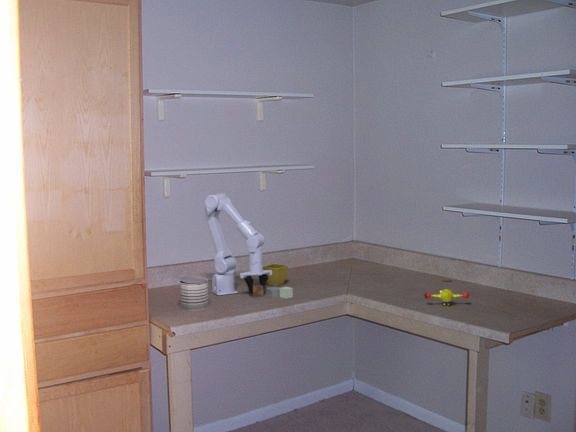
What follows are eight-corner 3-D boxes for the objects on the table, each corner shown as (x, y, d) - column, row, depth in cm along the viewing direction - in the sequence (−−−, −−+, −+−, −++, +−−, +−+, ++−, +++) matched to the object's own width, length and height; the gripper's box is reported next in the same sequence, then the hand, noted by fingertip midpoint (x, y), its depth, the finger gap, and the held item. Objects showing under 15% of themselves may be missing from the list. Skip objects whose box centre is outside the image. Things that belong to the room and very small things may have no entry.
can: (194, 302, 263) (193, 274, 262) (214, 306, 257) (213, 277, 256) (174, 308, 254) (173, 279, 253) (195, 312, 248) (194, 282, 246)
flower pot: (277, 287, 289) (276, 268, 288) (262, 285, 294) (262, 266, 293) (288, 284, 296) (288, 265, 295) (274, 282, 301) (273, 263, 300)
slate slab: (272, 297, 272) (272, 290, 271) (265, 294, 277) (265, 288, 277) (284, 295, 275) (284, 289, 275) (277, 293, 280) (277, 286, 280)
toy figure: (466, 303, 258) (467, 287, 257) (470, 307, 253) (470, 290, 252) (422, 304, 258) (422, 287, 257) (425, 307, 253) (425, 290, 252)
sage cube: (286, 298, 269) (286, 289, 269) (279, 297, 272) (279, 288, 271) (292, 297, 272) (292, 288, 271) (286, 295, 275) (286, 286, 274)
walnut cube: (253, 297, 271) (253, 287, 270) (249, 295, 275) (249, 285, 274) (263, 296, 273) (263, 286, 272) (258, 294, 277) (258, 284, 276)
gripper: (244, 265, 265) (244, 296, 267) (275, 261, 272) (275, 292, 274) (237, 262, 271) (238, 293, 273) (267, 259, 278) (268, 289, 280)
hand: (256, 292), depth 274 cm, fingers closed on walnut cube, 4 cm apart
